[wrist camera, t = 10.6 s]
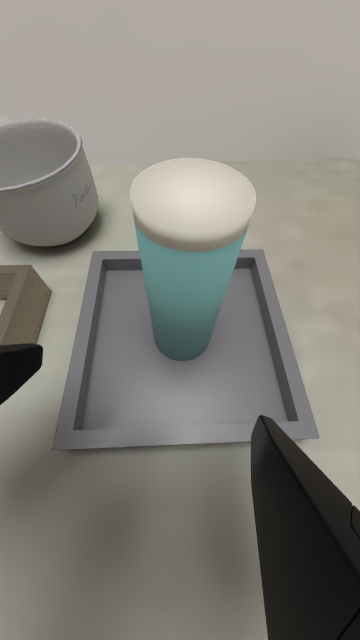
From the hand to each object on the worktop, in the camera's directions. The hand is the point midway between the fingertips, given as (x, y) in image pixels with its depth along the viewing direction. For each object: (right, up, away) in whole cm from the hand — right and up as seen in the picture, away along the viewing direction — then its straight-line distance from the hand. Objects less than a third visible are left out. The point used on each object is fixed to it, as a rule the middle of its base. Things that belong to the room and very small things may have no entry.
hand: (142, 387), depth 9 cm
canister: (+2, +1, +10) cm, 10 cm away
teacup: (-13, +14, +18) cm, 26 cm away
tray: (+2, +1, +10) cm, 10 cm away
